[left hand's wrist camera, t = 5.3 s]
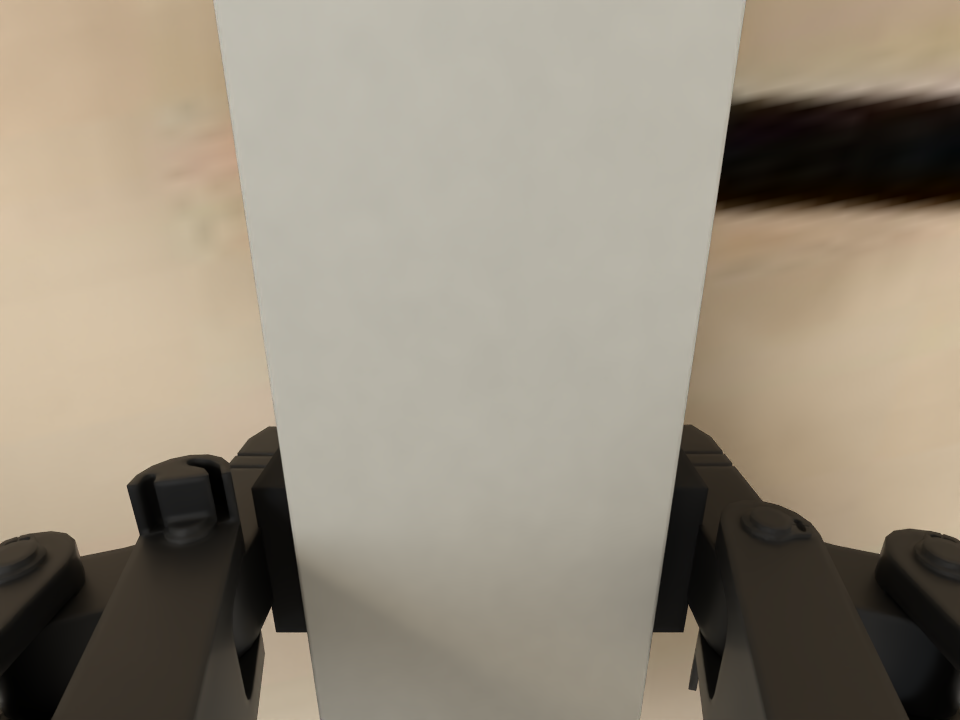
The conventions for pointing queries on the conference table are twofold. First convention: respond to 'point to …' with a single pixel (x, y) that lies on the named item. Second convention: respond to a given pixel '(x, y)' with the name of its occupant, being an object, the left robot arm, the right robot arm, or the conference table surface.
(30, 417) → the conference table surface
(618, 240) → the bar
